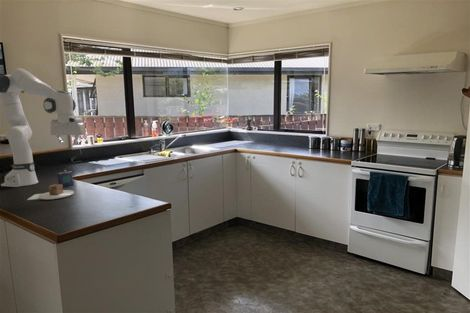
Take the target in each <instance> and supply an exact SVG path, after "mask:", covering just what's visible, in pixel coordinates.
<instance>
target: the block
mask: <svg viewBox="0 0 470 313" xmlns="http://www.w3.org/2000/svg"><path fill="white" fill-rule="evenodd" d="M63 190H64V187H63V186H62V184H59V183H57V184H56V183H54V184H51V185H49V186H48V192H49V194H50V195H59V194H62V193H63Z"/></svg>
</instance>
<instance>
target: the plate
mask: <svg viewBox="0 0 470 313" xmlns="http://www.w3.org/2000/svg"><path fill="white" fill-rule="evenodd" d="M40 194H41V195H39V198H40V199H39V200H55V199H56V200H57V199H62V198H63V199H64V198H67V197H70V196H73V195H74V194H75V192H74V190H73V189H63V193H62V194H59V195H50V194H49V191H47V192H44V193H40Z"/></svg>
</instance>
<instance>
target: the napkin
mask: <svg viewBox="0 0 470 313" xmlns="http://www.w3.org/2000/svg"><path fill="white" fill-rule="evenodd" d="M41 194H42V193H34V194H33V195H32V196H29V198H27V199H26V200H27V201H33V200H35V201H36V200H41V199H40V198H39V195H41Z"/></svg>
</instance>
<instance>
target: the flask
mask: <svg viewBox="0 0 470 313" xmlns="http://www.w3.org/2000/svg"><path fill="white" fill-rule="evenodd" d="M57 182H58V184H62V186H63V188H67V187H71V186H74V180H73V171H72V170H70V171H67V169H64V170H63V171H61V172H59V173H57Z"/></svg>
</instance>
